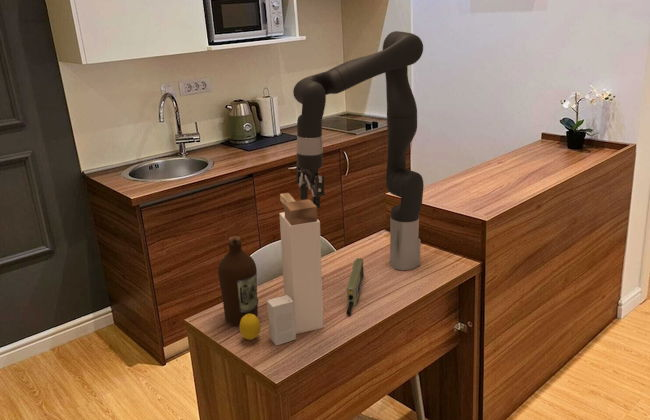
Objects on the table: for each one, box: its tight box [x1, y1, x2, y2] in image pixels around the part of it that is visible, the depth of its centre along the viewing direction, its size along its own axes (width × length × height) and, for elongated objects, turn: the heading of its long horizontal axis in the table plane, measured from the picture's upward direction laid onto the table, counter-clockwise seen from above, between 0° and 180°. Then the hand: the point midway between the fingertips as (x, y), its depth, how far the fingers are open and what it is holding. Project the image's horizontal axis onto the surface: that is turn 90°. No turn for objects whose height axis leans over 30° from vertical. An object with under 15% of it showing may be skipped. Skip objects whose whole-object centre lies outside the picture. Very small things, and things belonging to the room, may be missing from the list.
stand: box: [279, 211, 324, 335], centre depth 158 cm, size 8×10×32 cm
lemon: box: [239, 314, 261, 341], centre depth 155 cm, size 6×6×8 cm
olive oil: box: [217, 235, 259, 327], centre depth 162 cm, size 11×11×25 cm
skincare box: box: [266, 295, 297, 346], centre depth 154 cm, size 6×4×12 cm
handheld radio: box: [345, 257, 365, 316], centre depth 176 cm, size 7×3×25 cm
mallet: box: [279, 192, 318, 225], centre depth 155 cm, size 7×18×4 cm, turn 20°
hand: (309, 203), depth 172 cm, fingers open, 8 cm apart
